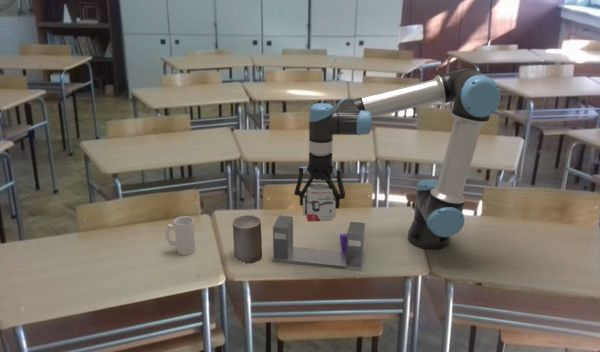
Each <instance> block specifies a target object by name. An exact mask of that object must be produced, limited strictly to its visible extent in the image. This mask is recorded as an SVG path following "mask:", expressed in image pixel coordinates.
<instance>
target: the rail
mask: <svg viewBox="0 0 600 352" xmlns="http://www.w3.org/2000/svg"><path fill="white" fill-rule="evenodd" d="M365 228H366V223H365V222H359V221H350V222H349V226H348V231H347V233H346V234H347V252H345V251H342V250H332V249H324V248H313V247H312V248H311V247H304V246H303V247H302V246H301V247H300V246H294V217H293V216H288V215H278V216H277V218H276V220H275V222H274V224H273V227H272V238H273V239H272V240H273V241H272V245H273V246H272V247H273V249H272V251H273V252H272V253H273V255H272V258H271V263H276V264H277V263H279V264H280V263H281V264H287V265H289V264H290V265H298V266H299V265H300V266H308V267H318V268H327V269H328V268H329V269H338V270H349V271H357V272H359V271H360V272H363V270H364V263H365V258H366V253H364V250H365V234H366V233H365V230H366V229H365Z"/></svg>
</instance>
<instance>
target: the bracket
mask: <svg viewBox="0 0 600 352" xmlns="http://www.w3.org/2000/svg"><path fill="white" fill-rule="evenodd" d="M339 240H340V248H341V251H345V252H347V233H342V234H339Z"/></svg>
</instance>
